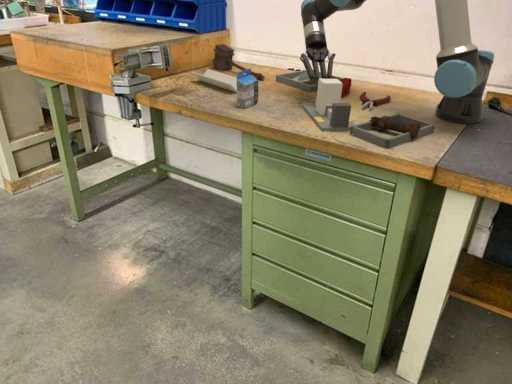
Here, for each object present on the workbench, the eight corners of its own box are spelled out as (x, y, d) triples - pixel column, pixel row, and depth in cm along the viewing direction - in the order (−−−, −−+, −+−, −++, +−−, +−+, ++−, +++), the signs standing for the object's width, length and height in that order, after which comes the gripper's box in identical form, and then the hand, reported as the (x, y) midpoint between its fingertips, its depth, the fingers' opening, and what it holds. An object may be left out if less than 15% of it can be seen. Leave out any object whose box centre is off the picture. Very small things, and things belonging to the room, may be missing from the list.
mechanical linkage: (342, 98, 164) (344, 86, 161) (325, 95, 167) (326, 83, 165) (355, 90, 176) (357, 78, 174) (339, 87, 179) (341, 75, 177)
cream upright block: (315, 109, 146) (318, 78, 140) (333, 109, 147) (336, 78, 141) (320, 115, 140) (323, 83, 135) (338, 115, 141) (342, 83, 136)
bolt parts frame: (433, 132, 133) (435, 124, 132) (386, 148, 120) (388, 140, 118) (396, 120, 142) (397, 113, 141) (349, 133, 129) (350, 126, 128)
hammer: (222, 63, 206) (224, 43, 200) (266, 90, 189) (271, 69, 183) (211, 65, 202) (213, 44, 196) (256, 92, 185) (259, 71, 179)
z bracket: (208, 89, 186) (215, 77, 187) (245, 102, 170) (254, 89, 171) (191, 72, 177) (199, 60, 177) (229, 84, 161) (238, 71, 162)
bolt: (370, 131, 136) (415, 141, 128) (365, 127, 132) (411, 137, 124) (376, 114, 136) (422, 123, 127) (371, 109, 132) (418, 119, 123)
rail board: (301, 106, 153) (303, 84, 149) (332, 105, 155) (335, 84, 151) (321, 131, 131) (324, 106, 127) (358, 130, 132) (362, 105, 129)
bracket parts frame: (346, 85, 182) (347, 79, 181) (310, 92, 170) (310, 86, 169) (311, 74, 197) (311, 69, 196) (275, 80, 185) (275, 75, 184)
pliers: (349, 110, 152) (350, 103, 151) (361, 96, 168) (363, 90, 167) (381, 115, 148) (382, 108, 147) (390, 101, 164) (392, 94, 163)
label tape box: (245, 108, 148) (246, 74, 142) (235, 106, 150) (236, 72, 144) (258, 103, 155) (259, 69, 149) (249, 101, 157) (250, 67, 151)
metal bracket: (321, 66, 188) (321, 74, 175) (324, 79, 190) (323, 87, 177) (290, 73, 191) (288, 81, 178) (293, 86, 194) (291, 94, 181)
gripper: (329, 45, 156) (338, 101, 149) (295, 44, 154) (302, 102, 148) (335, 32, 149) (344, 91, 142) (299, 31, 147) (307, 91, 140)
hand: (323, 96), depth 145 cm, fingers closed
